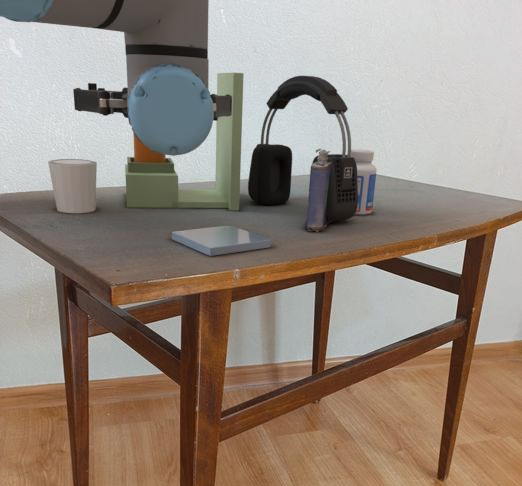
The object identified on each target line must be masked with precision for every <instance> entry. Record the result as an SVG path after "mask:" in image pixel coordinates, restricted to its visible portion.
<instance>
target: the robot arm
mask: <svg viewBox="0 0 522 486" xmlns="http://www.w3.org/2000/svg"><path fill="white" fill-rule="evenodd" d="M0 17H1V18H5V19H6V20H9V21H11V22H17V23H37V24H48V25H58V26H69V27H78V28H89V29H97V30H105V31H112V32H119V33H123V36H124V37H123V38H124V48H125V49H124V50H125V60H126V84H127V85H126V86H127V87H123V88H122V89H121V91H119V90H107V89H106V88H105V87H98V85H97V83H94V82H87V89H82V88H80V87H76V88H73V89H72V91H73V92H72V93H73V104H74V111H77V112H88V113H95V114H99V115H102V116H103V117H104V116H105V117H107V116H110V115H114V114H115V113H116V114H118V113H119V114H122V115H123V117H124V118H125V119H127V120H128V124H129V125H130V126H131V131H132V133H133V132H134V133H135V136H136V137H137V139H138V140H139V141H140V142H141V143H143V144H144V145H145V146H146V147H148V148H149V149H151V150H152V151H155V152H157V153H160V154H165V155H166V156H172V157H176V156H182V155H186V154H189V153H191V152H193V151H195V150H197V148H199V147H200V146H201V145H202V144H203V143H204V142H205V141H206V140H207V138H208V136H209V135H210V132H211V130H212V127H213V123H214V121H218V117H222V116H231V115H232V96H231V95H228V94H226V95H225V96H218V95H217V94H216V93H211V92H210V90H209V72H210V71H209V69H210V68H209V63H210V62H209V0H0Z"/></svg>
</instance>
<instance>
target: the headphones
mask: <svg viewBox="0 0 522 486" xmlns="http://www.w3.org/2000/svg"><path fill="white" fill-rule="evenodd" d="M301 96H309V97H311V98H312V99H314V100H316V101H318V102H320V103H321V104H322V106H323V108H324V109H325V111H326V113H327V114H328V115H335V117H336V119H337V122H338V124H339V128H340V132H341V139H342V150H341V151H342V152H341V153H333V154H332V153H331V154H330V153H328V155H327V156H328V159H327V163H328V162H331V164H332V165H331V170H330V177H329V185H328V196H327V206H326V221H331V222H337V221H346V220H350V219H351V218H353V217H354V216H355V215H356V214H355V213H356V210H357V206H358V181H357V165H356V161H355V160H354V157H351V150H352V136H351V135H352V134H351V130H350V126H349V123H348V120H347V117H346V113H347V111H348V110H349V107H348V105H347V104H346V103H345V101H344V99H343V98H342V96H341V95H340V94H339V92H338V89H336V87H335V86H334V85H333V84H332V83H330V81H327V80H326V79H324V78H322V77H319V76H315V75H296V76H293V77H291V78H288V79H286V80H285V81H283V82H282V83H281V84H280V85H279V86H277V89H276V90H275V91H274V92H273V93H272V94H271V95H270V97H269V98H268V100H267V101H266V106H267V107H268V110H267V112H266V115H265V116H264V120H263V123H262V127H261V134H260V143H257V144H256V146H255V147H254V149H253V151H252V154H251V159H250V165H249V166H250V167H249V173H248V183H247V192H248V196H249V198H250V199H251V200H252V201H254V202H255V204H258V205H263V206H271V205H272V206H273V205H282V204H286V203H287V202H288V201H289V199H290V197H291V187H292V174H293V173H292V172H293V150H292V148H291V147H289V146H287V145H284V144H275V143H274V144H270V143H269V138H270V131H271V126H272V123H273V120H274V117H275V115H276V112H277V111H278V110H284V109H286V107H287V106H288V104H289V103H290V102H291V101H292V100H295V99H297V98H299V97H301ZM267 122H268V123H267ZM266 126H267V127H266ZM345 131H346V132H345ZM265 132H266V133H265ZM346 137H347V138H346ZM319 155H320V154H318V155H316V156H315V157H314V158H313V160H312V163H311V165H312V164H313V163H315V162H317V161H318V160H317V158H318V156H319Z"/></svg>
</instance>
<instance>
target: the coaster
mask: <svg viewBox="0 0 522 486" xmlns="http://www.w3.org/2000/svg"><path fill="white" fill-rule="evenodd" d="M171 240H172V241H175V242H176V243H180V244H181V245H184V246H186V247H188V248H191V249H193V250H195V251H198V252H200V253H202V254H204V255H206V256H208V257H213V256H220V255H221V256H222V255H227V254H234V253H235V254H236V253H240V252H248V251H255V250H262V249H263V250H264V249H270V248H271V242H272V241H271V238H267V237H264V236H261V235H258V234H255V233H254V232H250V231H247V230H244V229H242V228H239V227H236V226H233V225H230V224H229V225H221V226H220V225H219V226H213V227H212V226H210V227H204V228H203V227H201V228H194V229H185V230H176V231H172V232H171Z"/></svg>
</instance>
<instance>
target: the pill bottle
mask: <svg viewBox="0 0 522 486" xmlns="http://www.w3.org/2000/svg"><path fill="white" fill-rule="evenodd" d="M374 154H375V152H374V150H370V149H358V148H357V149H353V148H351V157H354V160H355V161H356V165H357V181H358V206H357V210H356V213H355V214H354V215H356V216H357V215H358V216H361V215H370V214H371V213H372V212H373V206H374V199H375V189H376V182H377V181H376V179H377V167H376V166H375V165H374V164H373V161H374V156H375V155H374Z"/></svg>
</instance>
